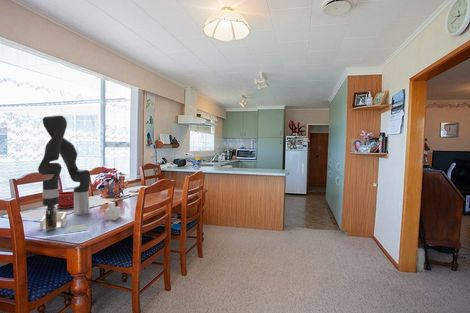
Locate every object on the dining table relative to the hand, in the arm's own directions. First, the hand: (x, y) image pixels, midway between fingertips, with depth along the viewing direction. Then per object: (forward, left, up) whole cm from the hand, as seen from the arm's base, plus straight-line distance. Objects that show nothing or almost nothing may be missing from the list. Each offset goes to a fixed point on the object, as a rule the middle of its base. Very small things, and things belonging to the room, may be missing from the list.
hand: (51, 224), depth 135 cm
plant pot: (-1, -58, -4) cm, 58 cm away
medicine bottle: (-33, -11, -4) cm, 35 cm away
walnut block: (0, 0, -2) cm, 2 cm away
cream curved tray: (0, -11, -4) cm, 12 cm away
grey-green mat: (-13, +3, -4) cm, 14 cm away
